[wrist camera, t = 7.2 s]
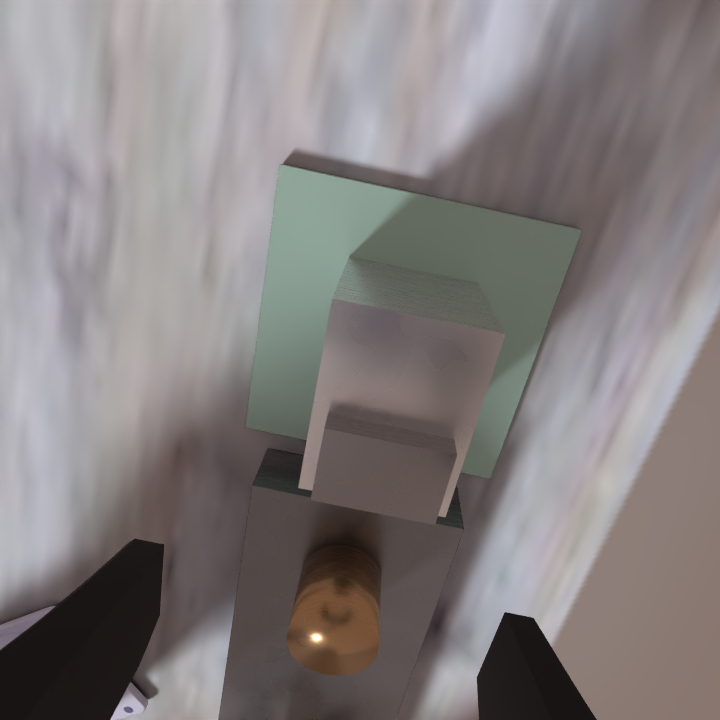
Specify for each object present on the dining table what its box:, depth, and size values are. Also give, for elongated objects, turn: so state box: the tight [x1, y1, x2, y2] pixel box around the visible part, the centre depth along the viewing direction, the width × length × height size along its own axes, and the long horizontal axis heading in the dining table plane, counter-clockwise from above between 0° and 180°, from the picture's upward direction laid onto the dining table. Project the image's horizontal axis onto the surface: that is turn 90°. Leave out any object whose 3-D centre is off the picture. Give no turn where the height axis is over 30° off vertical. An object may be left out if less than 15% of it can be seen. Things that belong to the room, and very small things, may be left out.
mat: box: [245, 164, 582, 479], centre depth 19 cm, size 10×10×1 cm
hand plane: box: [218, 448, 464, 720], centre depth 23 cm, size 20×8×6 cm, turn 169°
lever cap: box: [298, 256, 506, 525], centre depth 16 cm, size 6×4×6 cm
